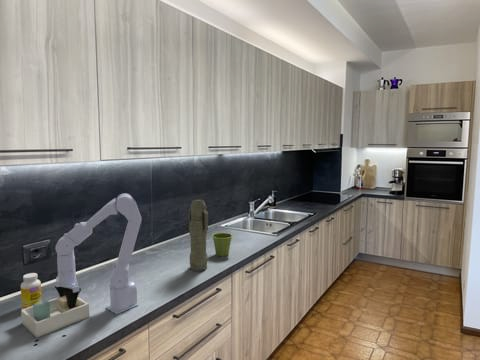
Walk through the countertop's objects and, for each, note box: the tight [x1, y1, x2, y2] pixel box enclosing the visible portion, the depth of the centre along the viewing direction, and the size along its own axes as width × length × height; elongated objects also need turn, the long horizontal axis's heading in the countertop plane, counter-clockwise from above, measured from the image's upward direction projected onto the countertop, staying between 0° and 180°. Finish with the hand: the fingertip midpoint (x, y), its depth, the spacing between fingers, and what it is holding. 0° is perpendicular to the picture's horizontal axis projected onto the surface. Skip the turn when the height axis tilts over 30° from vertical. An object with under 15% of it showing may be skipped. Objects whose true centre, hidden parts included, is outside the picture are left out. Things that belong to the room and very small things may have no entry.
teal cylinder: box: [33, 300, 50, 322], centre depth 118 cm, size 5×5×7 cm
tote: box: [20, 296, 90, 339], centre depth 122 cm, size 18×14×5 cm
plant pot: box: [211, 232, 233, 257], centre depth 193 cm, size 12×12×11 cm
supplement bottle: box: [20, 272, 43, 310], centre depth 131 cm, size 7×7×13 cm
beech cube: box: [56, 296, 78, 313], centre depth 125 cm, size 5×5×5 cm
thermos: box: [188, 198, 209, 272], centre depth 171 cm, size 9×12×35 cm
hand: (68, 305), depth 125 cm, fingers closed on beech cube, 5 cm apart
